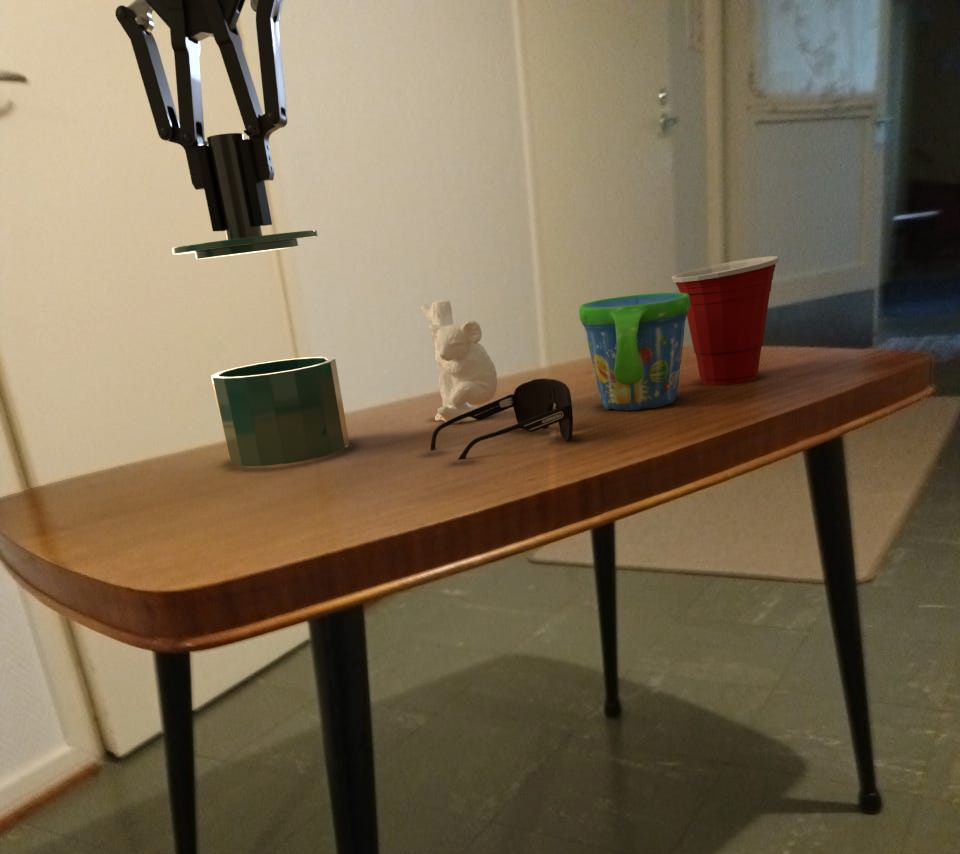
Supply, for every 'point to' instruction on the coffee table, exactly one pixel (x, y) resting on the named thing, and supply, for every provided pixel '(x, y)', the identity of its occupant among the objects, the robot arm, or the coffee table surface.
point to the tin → (281, 411)
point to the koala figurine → (460, 363)
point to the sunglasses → (526, 410)
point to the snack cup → (636, 348)
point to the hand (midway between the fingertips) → (242, 227)
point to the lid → (237, 207)
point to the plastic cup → (728, 317)
